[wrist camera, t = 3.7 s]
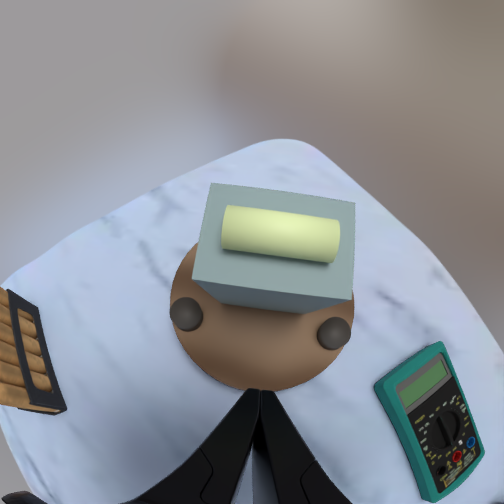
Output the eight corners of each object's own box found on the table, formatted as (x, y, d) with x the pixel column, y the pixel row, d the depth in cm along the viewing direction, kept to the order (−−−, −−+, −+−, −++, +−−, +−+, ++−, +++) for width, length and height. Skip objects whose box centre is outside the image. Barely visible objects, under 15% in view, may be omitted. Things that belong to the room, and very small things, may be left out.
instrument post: (304, 314, 20) (364, 295, 9) (220, 303, 20) (183, 272, 9) (310, 260, 21) (365, 188, 10) (229, 249, 21) (206, 166, 10)
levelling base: (339, 398, 19) (368, 395, 14) (161, 375, 20) (137, 365, 15) (343, 245, 26) (362, 210, 22) (197, 226, 27) (189, 187, 22)
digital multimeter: (421, 503, 14) (438, 509, 11) (368, 384, 20) (384, 380, 18) (472, 456, 15) (491, 457, 13) (426, 343, 22) (444, 335, 19)
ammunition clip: (68, 410, 17) (-36, 392, 7) (54, 415, 17) (-48, 399, 6) (38, 307, 22) (-42, 244, 11) (26, 314, 21) (-54, 255, 11)
